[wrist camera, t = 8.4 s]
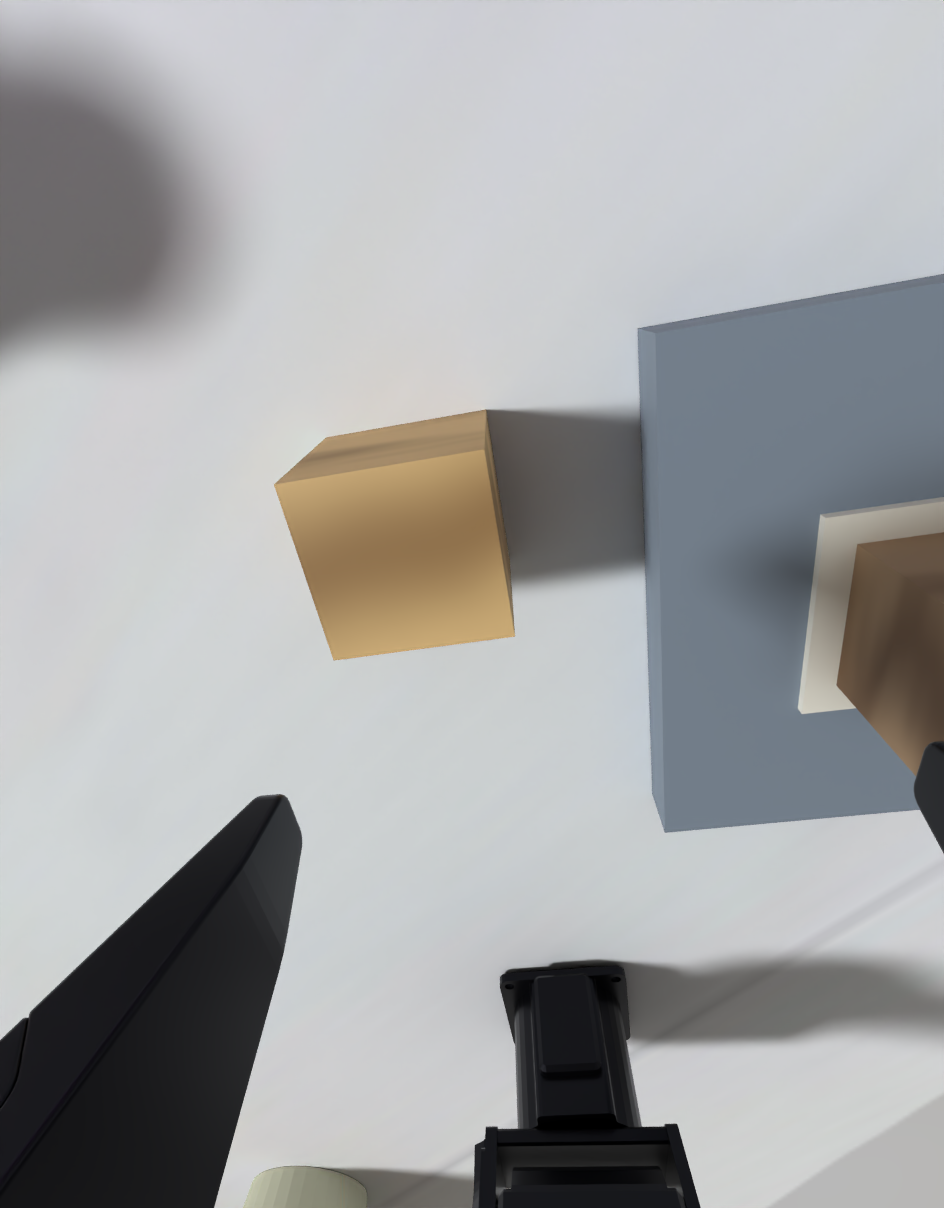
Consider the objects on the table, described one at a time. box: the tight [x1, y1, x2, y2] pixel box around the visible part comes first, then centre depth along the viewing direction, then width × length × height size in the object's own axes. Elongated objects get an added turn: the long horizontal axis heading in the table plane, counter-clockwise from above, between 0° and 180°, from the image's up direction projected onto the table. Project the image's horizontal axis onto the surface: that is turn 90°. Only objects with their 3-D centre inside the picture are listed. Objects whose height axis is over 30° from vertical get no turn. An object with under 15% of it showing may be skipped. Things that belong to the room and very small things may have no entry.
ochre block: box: [274, 410, 515, 660], centre depth 17 cm, size 5×5×5 cm
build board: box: [638, 274, 944, 833], centre depth 19 cm, size 18×16×2 cm
